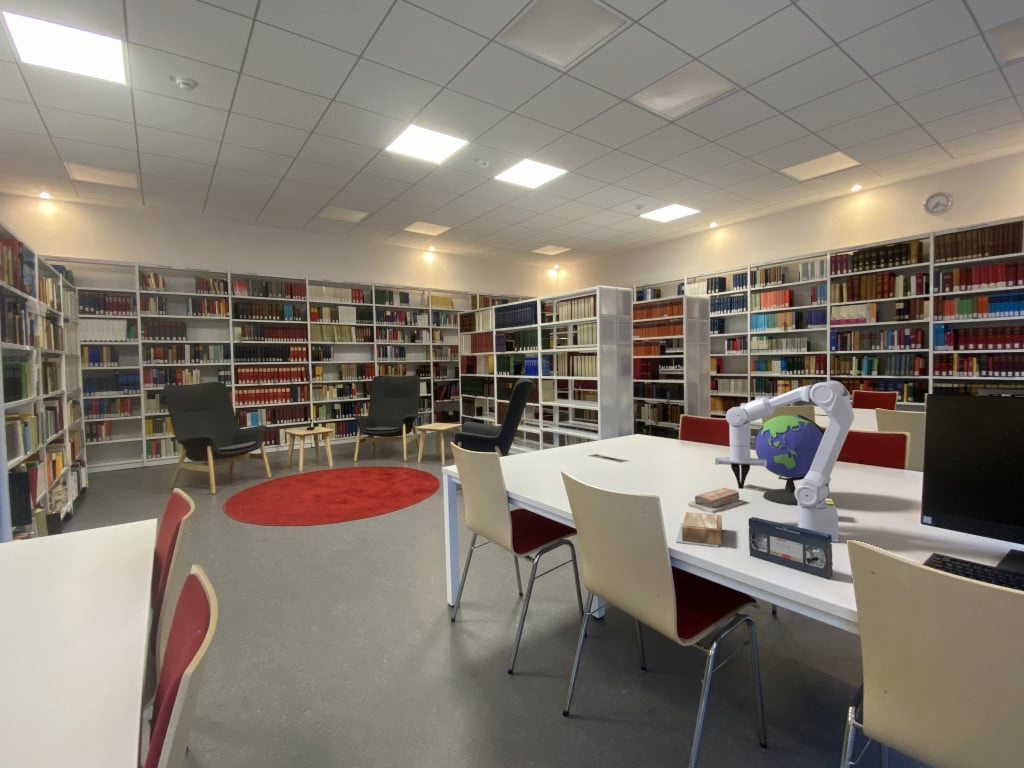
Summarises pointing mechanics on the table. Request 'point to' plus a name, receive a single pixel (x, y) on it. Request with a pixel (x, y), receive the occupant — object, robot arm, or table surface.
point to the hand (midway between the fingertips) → (740, 487)
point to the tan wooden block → (702, 528)
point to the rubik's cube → (830, 502)
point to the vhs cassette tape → (791, 547)
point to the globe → (788, 452)
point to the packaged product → (716, 500)
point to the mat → (679, 540)
